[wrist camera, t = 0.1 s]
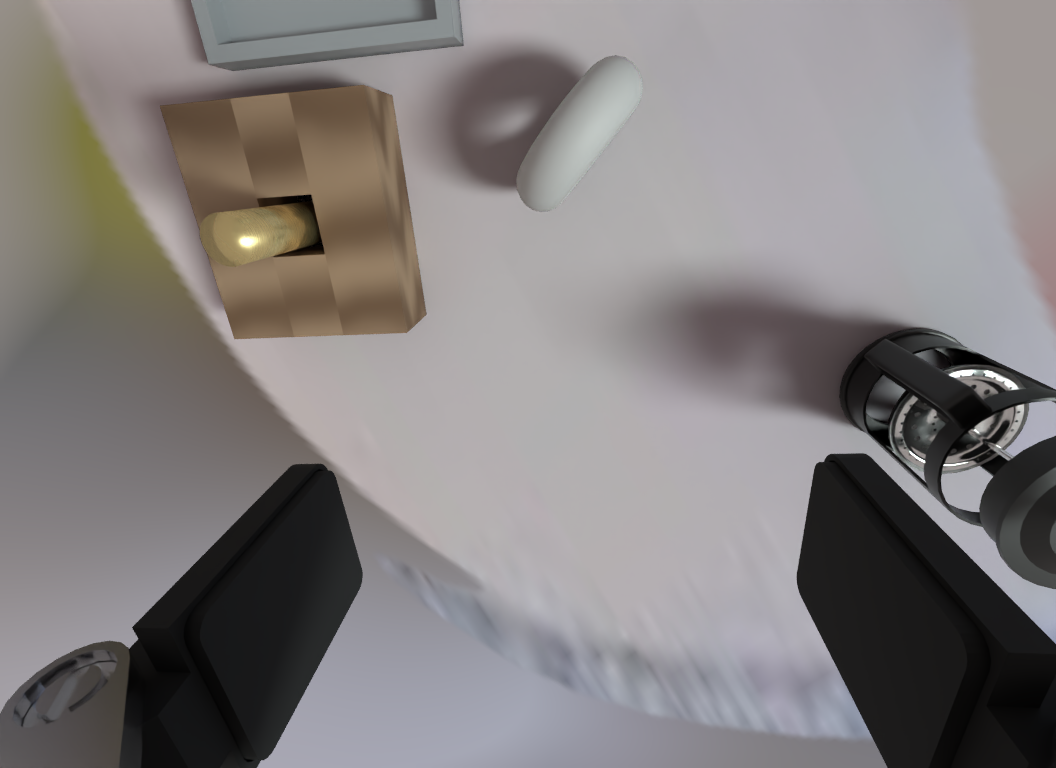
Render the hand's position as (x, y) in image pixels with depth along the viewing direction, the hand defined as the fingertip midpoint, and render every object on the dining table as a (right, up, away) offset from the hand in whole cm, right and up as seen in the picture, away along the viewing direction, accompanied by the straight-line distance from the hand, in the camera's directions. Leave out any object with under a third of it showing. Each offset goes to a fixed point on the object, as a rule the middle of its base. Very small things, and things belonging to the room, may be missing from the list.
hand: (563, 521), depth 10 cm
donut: (+3, +20, +25) cm, 32 cm away
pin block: (-17, +16, +29) cm, 37 cm away
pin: (-17, +16, +29) cm, 37 cm away
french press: (+29, +3, +30) cm, 42 cm away
